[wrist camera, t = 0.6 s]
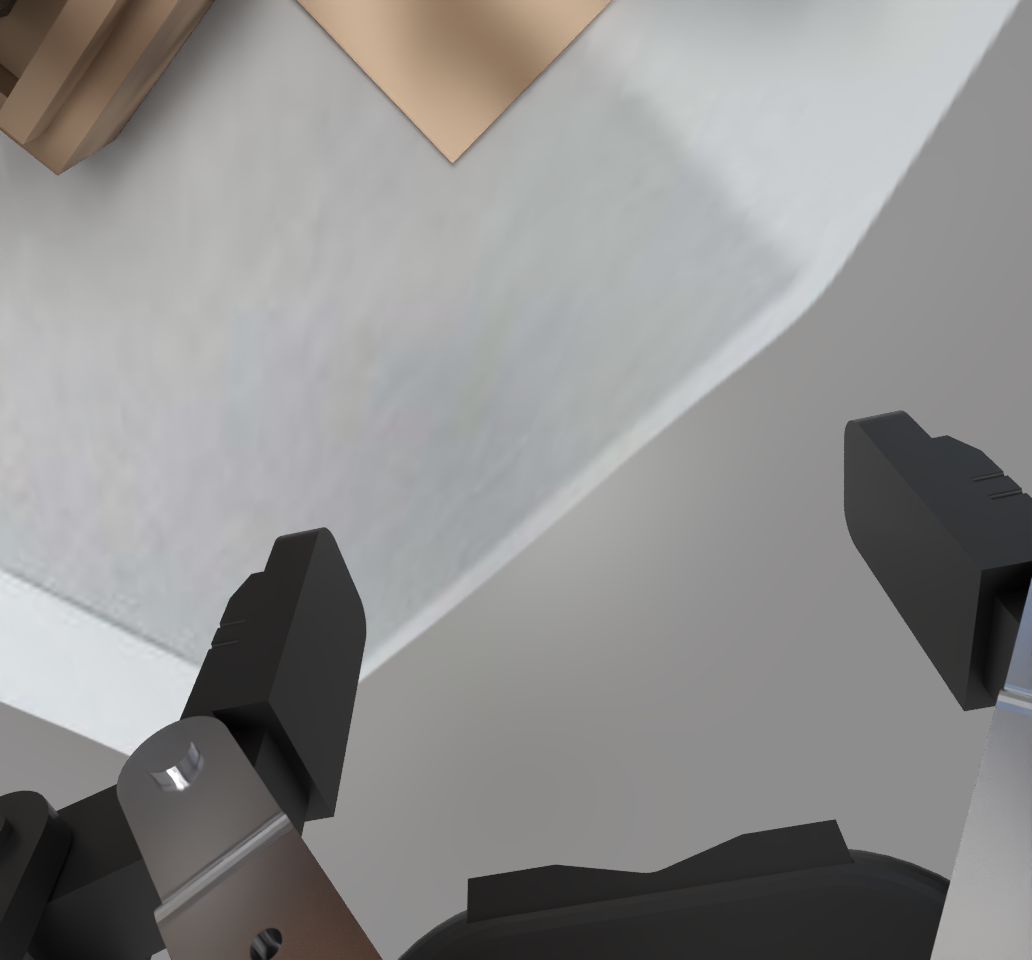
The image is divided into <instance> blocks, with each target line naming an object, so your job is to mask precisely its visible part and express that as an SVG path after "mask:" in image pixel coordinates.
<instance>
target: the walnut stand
mask: <svg viewBox="0 0 1032 960" xmlns="http://www.w3.org/2000/svg"><path fill="white" fill-rule="evenodd" d="M213 2H214V0H17V2H16V3H15V5H14V7H13V8H12V10H11V12H10V14H9V15H8V16H5V17H1V18H0V130H1V131H2V132H4V133H5V134H6V135H7V136H9V137H10V138H11V139H13V140H14V141H15V142H16V143H18V144H19V145H20V146H21V147H23V148H24V149H25V150H26V151H28V152H29V153H30V154H31V155H33V156H34V157H35V158H36V159H38V160H39V161H40V162H41V163H43V164H44V165H45V166H46V167H48V168H49V169H50V170H51V171H53V172H54V173H55V174H56V175H59V174H61V173H62V172H64V171H66V170H67V169H69V168H70V167H72V166H74V165H75V164H77V163H78V162H80V161H82V160H83V159H85V158H86V157H88V156H90V155H91V154H93V153H94V152H96V151H98V150H99V149H101V148H102V147H104V146H106V145H107V144H109V143H110V142H112V141H114V140H115V139H116V137H117V136H118V135H119V133H120V132H121V130H122V129H123V128H124V126H125V125H126V123H127V122H128V121H129V119H130V118H131V116H132V115H133V114H134V112H135V111H136V109H137V108H138V107H139V105H140V104H141V102H142V101H143V100H144V98H145V97H146V95H147V94H148V93H149V91H150V90H151V88H152V87H153V86H154V84H155V83H156V81H157V80H158V79H159V77H160V76H161V74H162V73H163V72H164V70H165V69H166V67H167V66H168V65H169V63H170V62H171V60H172V59H173V58H174V56H175V55H176V53H177V52H178V51H179V49H180V48H181V46H182V45H183V44H184V42H185V41H186V39H187V38H188V37H189V35H190V34H191V32H192V31H193V30H194V28H195V27H196V25H197V24H198V23H199V21H200V20H201V18H202V17H203V16H204V14H205V13H206V11H207V10H208V9H209V7H210V6H211V4H212V3H213Z"/></svg>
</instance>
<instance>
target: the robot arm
mask: <svg viewBox="0 0 1032 960" xmlns="http://www.w3.org/2000/svg"><path fill="white" fill-rule="evenodd" d="M844 511H845V517H846V522H847V526H848V530H849V533H850V536H851V538H852V540H853V543H854V545H855V546H856V548H857V549H858V551H859V553H860V554H861V556H862V557H863V559H864V560H865V561H866V563H867V565H868V566H869V568H870V569H871V571H872V572H873V574H874V575H875V577H876V578H877V580H878V581H879V583H880V584H881V586H882V587H883V589H884V590H885V592H886V593H887V595H888V597H889V598H890V599H891V601H892V602H893V604H894V606H895V607H896V609H897V610H898V612H899V613H900V615H901V616H902V618H903V619H904V621H905V622H906V624H907V625H908V627H909V628H910V630H911V631H912V633H913V634H914V636H915V637H916V639H917V640H918V642H919V644H920V645H921V646H922V648H923V650H924V651H925V652H926V654H927V656H928V657H929V659H930V660H931V662H932V663H933V665H934V666H935V668H936V669H937V671H938V672H939V674H940V675H941V677H942V678H943V680H944V681H945V683H946V684H947V686H948V687H949V689H950V690H951V692H952V693H953V695H954V697H955V698H956V700H957V701H958V703H959V704H960V706H961V707H962V709H963V710H964V711H968V710H974V709H980V708H985V707H991V706H995V710H994V714H993V718H992V722H991V725H990V729H989V733H988V737H987V741H986V745H985V749H984V753H983V757H982V761H981V764H980V768H979V772H978V776H977V780H976V784H975V788H974V792H973V796H972V800H971V804H970V807H969V811H968V816H967V819H966V823H965V827H964V831H963V834H962V838H961V843H960V846H959V850H958V854H957V858H956V862H955V866H954V870H953V873H952V877H951V881H950V880H948V879H946V878H944V877H942V876H941V875H939V874H937V873H934V872H932V871H929V870H927V869H924V868H922V867H920V866H918V865H915V864H913V863H910V862H907V861H903V860H900V859H897V858H894V857H891V856H887V855H882V854H877V853H872V852H867V851H862V850H852V849H848V848H847V846H846V843H845V841H844V839H843V836H842V834H841V832H840V829H839V827H838V824H837V822H836V820H829V821H823V822H816V823H811V824H804V825H798V826H792V827H785V828H779V829H773V830H767V831H761V832H755V833H748V834H742V835H740V836H738V837H735V838H733V839H731V840H729V841H726V842H724V843H722V844H719V845H717V846H715V847H713V848H711V849H708V850H706V851H704V852H701V853H699V854H697V855H694V856H692V857H690V858H688V859H685V860H683V861H681V862H678V863H676V864H674V865H672V866H669V867H667V868H665V869H663V870H660V871H657V872H652V873H638V872H637V873H636V872H627V871H617V870H606V869H596V868H584V867H574V866H563V865H550V866H545V867H538V868H532V869H526V870H520V871H513V872H507V873H501V874H495V875H489V876H482V877H476V878H470V879H468V905H467V910H466V911H463V912H461V913H459V914H457V915H455V916H453V917H451V918H450V919H448V920H446V921H445V922H443V923H441V924H440V925H438V926H436V927H435V928H434V929H432V930H431V931H430V932H428V933H427V934H426V935H424V936H423V937H422V938H420V939H419V940H418V941H417V942H415V943H414V944H413V945H412V946H411V947H410V948H409V949H408V950H407V951H406V952H405V953H404V954H403V955H402V956H401V957H400V958H399V959H398V960H1032V498H1031V497H1030V496H1029V495H1028V494H1027V493H1025V494H1023V493H1022V488H1020V487H1019V486H1018V485H1017V484H1016V483H1015V482H1014V481H1013V480H1012V479H1011V478H1010V477H1009V476H1004V474H1003V471H1002V470H1001V469H1000V468H999V467H998V466H997V465H996V464H995V463H994V462H993V461H992V460H990V459H989V458H988V457H987V456H986V455H985V454H984V453H983V452H982V451H981V450H979V449H977V448H974V447H972V446H970V445H968V444H965V443H963V442H961V441H958V440H956V439H954V438H952V437H950V436H947V435H946V436H941V437H937V438H931V437H930V436H929V435H928V434H927V433H926V432H925V431H924V430H923V429H922V428H921V427H920V426H919V425H918V424H917V423H916V422H915V421H914V420H913V419H912V418H911V417H910V416H909V415H908V414H907V413H906V412H904V411H895V412H890V413H885V414H880V415H876V416H871V417H866V418H861V419H856V420H852V421H849V422H848V423H847V425H846V428H845V435H844ZM365 641H366V619H365V613H364V609H363V605H362V602H361V599H360V597H359V594H358V592H357V590H356V587H355V585H354V583H353V580H352V578H351V576H350V573H349V571H348V569H347V566H346V564H345V562H344V559H343V557H342V555H341V552H340V550H339V548H338V546H337V543H336V541H335V539H334V537H333V535H332V533H331V532H330V531H329V530H328V529H327V528H325V527H323V528H318V529H313V530H308V531H303V532H298V533H294V534H289V535H284V536H280V537H278V538H277V539H276V541H275V543H274V546H273V548H272V551H271V554H270V556H269V559H268V562H267V564H266V567H265V570H264V572H259V573H254V574H251V575H250V576H249V577H248V579H247V580H246V581H245V582H244V583H243V584H242V585H241V586H240V588H239V589H238V590H237V591H236V592H235V593H234V594H233V596H232V597H231V598H230V600H229V602H228V604H227V607H226V609H225V612H224V614H223V616H222V619H221V621H220V628H218V629H217V631H216V633H215V636H214V638H213V641H212V643H211V645H212V649H209V650H208V653H207V655H206V658H205V660H204V662H203V665H202V667H201V670H200V672H199V675H198V677H197V679H196V682H195V684H194V687H193V689H192V692H191V694H190V696H189V699H188V701H187V704H186V706H185V708H184V711H183V713H182V716H181V718H180V721H177V722H174V723H172V724H170V725H168V726H166V727H164V728H163V729H161V730H159V731H157V732H156V733H155V734H153V735H152V736H150V737H149V738H148V739H147V740H146V741H144V742H143V743H142V744H141V745H140V746H139V747H138V748H137V749H136V750H135V751H134V752H133V754H132V755H131V756H130V758H129V759H128V760H127V762H126V764H125V765H124V767H123V768H122V771H121V773H120V775H119V778H118V782H117V784H116V785H114V786H112V787H110V788H107V789H105V790H103V791H101V792H98V793H96V794H94V795H92V796H89V797H87V798H85V799H83V800H80V801H78V802H76V803H74V804H71V805H69V806H67V807H65V808H62V809H60V810H58V811H55V810H54V808H53V807H52V806H51V805H50V804H49V802H48V801H47V800H46V799H45V798H44V797H43V796H42V795H40V794H39V793H37V792H33V791H18V792H13V793H9V794H6V795H3V796H1V797H0V960H150V959H151V956H152V955H153V954H155V953H157V952H159V951H161V950H163V949H165V948H167V951H168V953H169V955H170V958H171V960H382V958H381V957H380V955H379V954H378V952H377V951H376V949H375V948H374V946H373V945H372V943H371V942H370V940H369V939H368V937H367V936H366V934H365V933H364V931H363V930H362V928H361V927H360V925H359V924H358V922H357V921H356V919H355V918H354V916H353V915H352V913H351V911H350V910H349V908H348V907H347V906H346V904H345V902H344V901H343V899H342V898H341V896H340V895H339V894H338V892H337V891H336V889H335V887H334V886H333V884H332V883H331V881H330V880H329V878H328V877H327V875H326V874H325V872H324V871H323V869H322V868H321V866H320V865H319V863H318V862H317V860H316V859H315V857H314V856H313V854H312V853H311V851H310V850H309V848H308V847H307V845H306V844H305V842H304V841H303V839H302V838H301V836H302V832H303V827H304V822H305V821H311V820H317V819H323V818H329V817H334V812H335V807H336V801H337V796H338V790H339V785H340V779H341V774H342V768H343V762H344V757H345V752H346V745H347V740H348V735H349V729H350V724H351V718H352V712H353V707H354V701H355V695H356V690H357V685H358V680H359V674H360V668H361V663H362V657H363V652H364V646H365Z"/></svg>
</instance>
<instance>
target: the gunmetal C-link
mask: <svg viewBox="0 0 1032 960" xmlns="http://www.w3.org/2000/svg"><path fill="white" fill-rule="evenodd" d="M16 2H17V0H0V18H1V17H5V16H8V15H9V14H10V12H11V10H12V8H13V7H14V5H15V3H16Z"/></svg>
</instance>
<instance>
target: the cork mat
mask: <svg viewBox="0 0 1032 960" xmlns="http://www.w3.org/2000/svg"><path fill="white" fill-rule="evenodd" d="M297 1H298V2H299V3H300V4H301V5H302V6H303V7H304V8H305V9H306V10H307V11H308V12H309V13H310V14H311V15H312V16H313V18H314V19H315V20H316V21H317V22H318V23H319V24H320V25H321V26H322V27H323V28H324V29H325V30H326V31H327V32H328V33H329V34H330V35H331V36H332V37H333V39H334V40H335V41H336V42H337V43H338V44H339V45H340V46H341V47H342V48H343V49H344V50H345V51H346V52H347V53H348V54H349V55H350V56H351V57H352V59H353V60H354V61H355V62H356V63H357V64H358V65H359V66H360V67H361V68H362V69H363V70H364V71H365V72H366V73H367V74H368V75H369V76H370V77H371V78H372V80H373V81H374V82H375V83H376V84H377V85H378V86H379V87H380V88H381V89H382V90H383V91H384V92H385V93H386V94H387V95H388V96H389V97H390V98H391V100H392V101H393V102H394V103H395V104H396V105H397V106H398V107H399V108H400V109H401V110H402V111H403V112H404V113H405V114H406V115H407V116H408V117H409V118H410V120H411V121H412V122H413V123H414V124H415V125H416V126H417V127H418V128H419V129H420V130H421V131H422V132H423V133H424V134H425V135H426V136H427V137H428V138H429V139H430V141H431V142H432V143H433V144H434V145H435V146H436V147H437V148H438V149H439V150H440V151H441V152H442V153H443V154H444V155H445V156H446V157H447V158H448V159H449V161H450V162H451V163H452V164H453V163H454V161H455V160H456V159H457V158H458V157H459V156H460V155H461V154H462V153H463V152H464V151H465V150H466V149H467V148H468V147H469V146H470V145H471V144H472V143H473V142H474V141H475V140H476V139H477V138H478V137H479V136H480V135H481V134H482V133H483V132H484V131H485V130H486V129H487V128H488V127H489V126H490V125H491V124H492V122H493V121H494V120H495V119H496V118H497V117H498V116H499V115H500V114H501V113H502V112H503V111H504V110H505V109H506V108H507V107H508V106H509V105H510V104H511V103H512V102H513V101H514V100H515V99H516V98H517V97H518V96H519V95H520V94H521V93H522V92H523V91H524V90H525V89H526V88H527V87H528V86H529V85H530V83H531V82H532V81H533V80H534V79H535V78H536V77H537V76H538V75H539V74H540V73H541V72H542V71H543V70H544V69H545V68H546V67H547V66H548V65H549V64H550V63H551V62H552V61H553V60H554V59H555V58H556V57H557V56H558V55H559V54H560V53H561V52H562V51H563V50H564V49H565V48H566V47H567V45H568V44H569V43H570V42H571V41H572V40H573V39H574V38H575V37H576V36H577V35H578V34H579V33H580V32H581V31H582V30H583V29H584V28H585V27H586V26H587V25H588V24H589V23H590V22H591V21H592V20H593V19H594V18H595V17H596V16H597V15H598V14H599V13H600V12H601V11H602V10H603V9H604V8H605V6H606V5H607V4H608V3H609V2H610V1H611V0H297Z"/></svg>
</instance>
